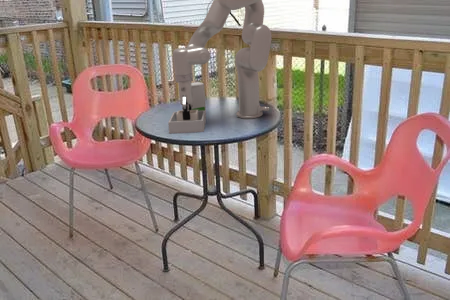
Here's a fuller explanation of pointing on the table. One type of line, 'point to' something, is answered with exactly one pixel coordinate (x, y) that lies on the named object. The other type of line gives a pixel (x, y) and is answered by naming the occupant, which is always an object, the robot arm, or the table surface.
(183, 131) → the base crate
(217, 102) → the table surface
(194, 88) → the skincare box
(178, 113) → the small crate
